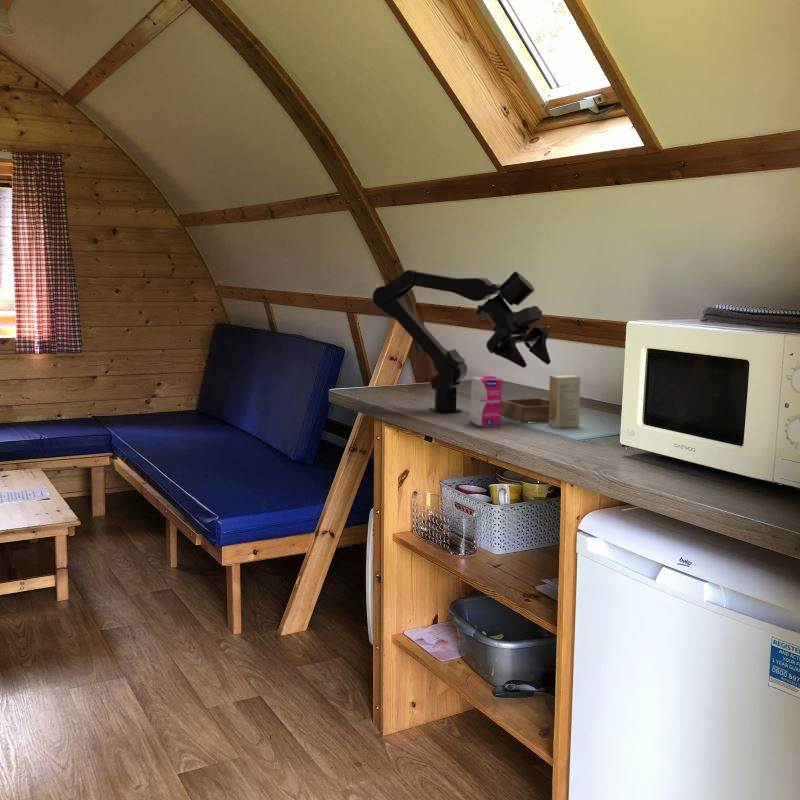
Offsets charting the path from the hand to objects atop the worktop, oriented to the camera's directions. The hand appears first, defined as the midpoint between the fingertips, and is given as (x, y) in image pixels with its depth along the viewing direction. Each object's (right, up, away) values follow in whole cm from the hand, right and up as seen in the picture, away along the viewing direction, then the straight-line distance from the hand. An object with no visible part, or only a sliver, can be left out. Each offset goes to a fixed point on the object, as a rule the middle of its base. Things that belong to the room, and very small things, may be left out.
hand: (537, 364), depth 215 cm
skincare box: (+6, -15, -3) cm, 16 cm away
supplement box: (-13, -15, -3) cm, 20 cm away
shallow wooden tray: (0, -13, +7) cm, 15 cm away
